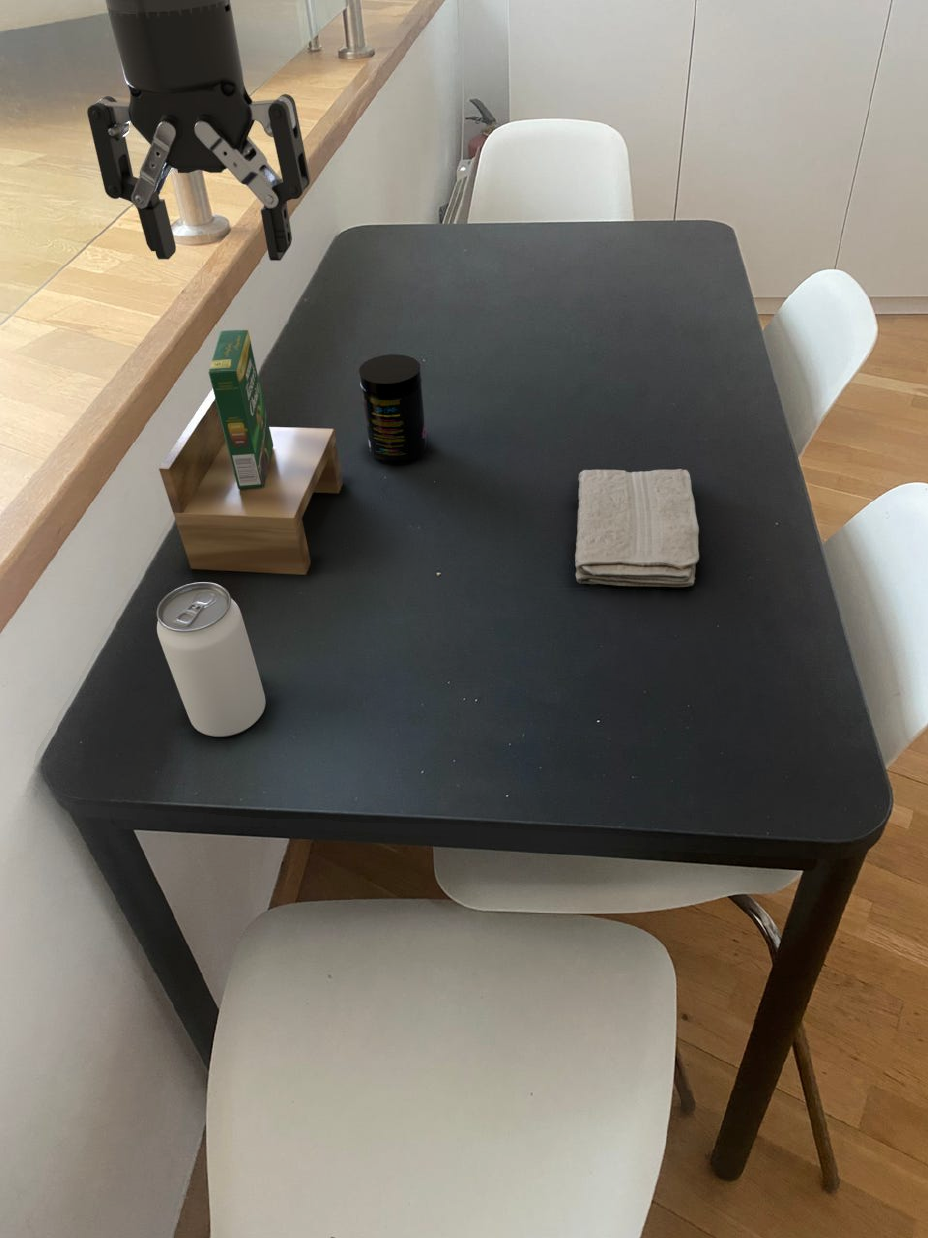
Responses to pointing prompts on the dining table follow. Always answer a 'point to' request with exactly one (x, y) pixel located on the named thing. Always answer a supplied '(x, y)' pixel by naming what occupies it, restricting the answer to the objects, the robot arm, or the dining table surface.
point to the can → (210, 659)
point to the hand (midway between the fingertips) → (222, 256)
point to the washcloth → (636, 528)
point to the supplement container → (393, 408)
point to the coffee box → (241, 408)
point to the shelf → (247, 496)
